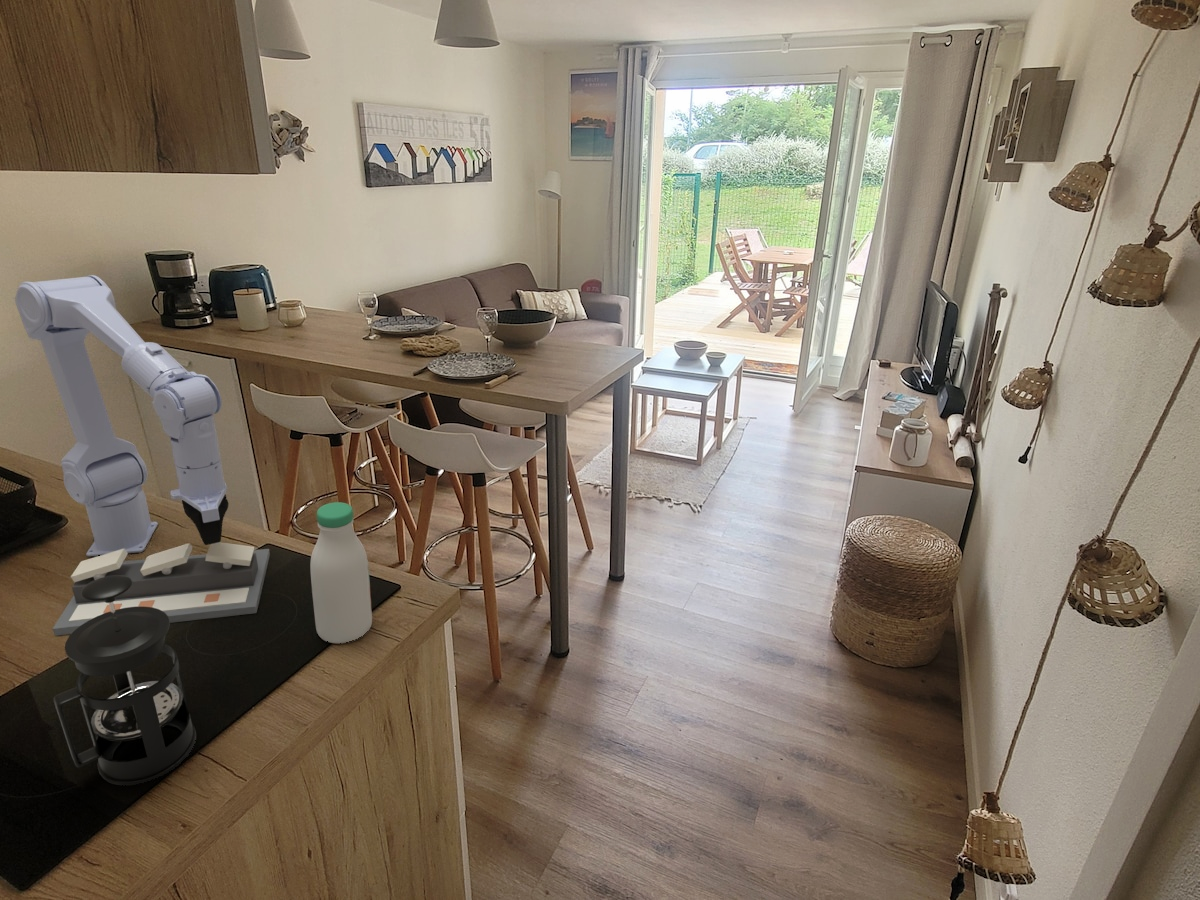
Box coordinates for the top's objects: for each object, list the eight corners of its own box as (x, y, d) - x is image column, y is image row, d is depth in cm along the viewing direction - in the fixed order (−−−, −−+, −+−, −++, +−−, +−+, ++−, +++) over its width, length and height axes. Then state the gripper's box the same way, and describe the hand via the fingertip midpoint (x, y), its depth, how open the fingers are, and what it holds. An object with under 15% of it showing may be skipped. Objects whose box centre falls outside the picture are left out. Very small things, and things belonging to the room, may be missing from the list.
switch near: (88, 571, 99) (80, 561, 98) (131, 558, 100) (124, 548, 99) (78, 587, 95) (70, 577, 94) (123, 573, 96) (115, 563, 95)
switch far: (209, 552, 103) (211, 541, 102) (252, 557, 105) (254, 546, 105) (204, 566, 100) (206, 555, 99) (248, 571, 102) (250, 560, 101)
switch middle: (154, 566, 101) (147, 555, 100) (195, 553, 102) (189, 543, 101) (146, 581, 98) (140, 570, 97) (189, 567, 99) (183, 557, 98)
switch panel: (95, 570, 105) (89, 548, 103) (269, 554, 112) (267, 534, 111) (54, 635, 91) (47, 612, 89) (256, 613, 99) (253, 590, 97)
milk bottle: (374, 639, 96) (366, 519, 88) (316, 649, 93) (303, 526, 85) (370, 607, 102) (363, 493, 94) (316, 616, 99) (303, 498, 91)
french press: (186, 703, 82) (151, 546, 73) (215, 749, 77) (182, 584, 67) (69, 757, 74) (14, 587, 65) (92, 812, 69) (36, 635, 59)
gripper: (160, 446, 98) (176, 525, 103) (170, 486, 87) (187, 573, 93) (214, 438, 102) (227, 515, 107) (230, 476, 91) (243, 559, 97)
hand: (212, 541), depth 100 cm, fingers closed
